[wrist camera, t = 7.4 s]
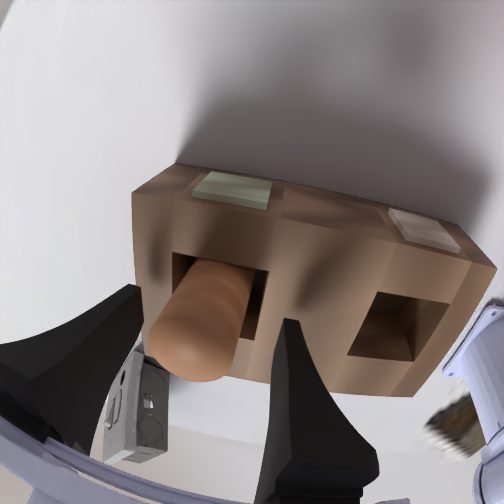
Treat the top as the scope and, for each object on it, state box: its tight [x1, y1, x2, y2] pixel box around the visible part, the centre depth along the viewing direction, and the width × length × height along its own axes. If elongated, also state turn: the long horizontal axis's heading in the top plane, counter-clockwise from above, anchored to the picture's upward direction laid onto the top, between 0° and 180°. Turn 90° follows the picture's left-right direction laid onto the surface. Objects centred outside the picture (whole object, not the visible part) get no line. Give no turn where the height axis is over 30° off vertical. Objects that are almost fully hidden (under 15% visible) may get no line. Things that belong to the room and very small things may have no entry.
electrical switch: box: [103, 351, 170, 465], centre depth 23 cm, size 9×5×9 cm, turn 144°
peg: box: [148, 257, 256, 382], centre depth 13 cm, size 3×3×8 cm
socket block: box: [132, 164, 497, 397], centre depth 16 cm, size 17×10×5 cm, turn 82°
